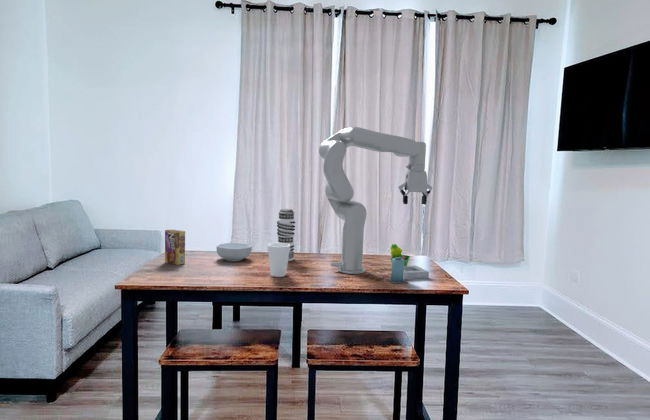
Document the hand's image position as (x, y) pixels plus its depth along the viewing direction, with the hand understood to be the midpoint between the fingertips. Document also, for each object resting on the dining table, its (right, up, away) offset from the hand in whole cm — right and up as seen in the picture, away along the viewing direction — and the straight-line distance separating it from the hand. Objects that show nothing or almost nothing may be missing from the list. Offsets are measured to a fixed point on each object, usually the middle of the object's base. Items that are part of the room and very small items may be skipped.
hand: (414, 204), depth 208 cm
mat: (-13, -33, -25) cm, 43 cm away
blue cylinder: (-13, -32, -25) cm, 43 cm away
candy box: (-112, -28, -7) cm, 115 cm away
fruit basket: (-8, -31, 0) cm, 31 cm away
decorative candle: (-62, -27, +10) cm, 69 cm away
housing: (-5, -32, -15) cm, 35 cm away
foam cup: (-63, -31, -21) cm, 73 cm away
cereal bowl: (-87, -27, +5) cm, 91 cm away
